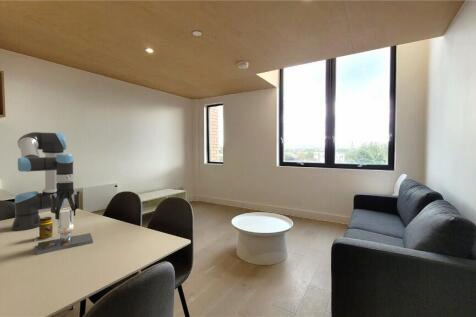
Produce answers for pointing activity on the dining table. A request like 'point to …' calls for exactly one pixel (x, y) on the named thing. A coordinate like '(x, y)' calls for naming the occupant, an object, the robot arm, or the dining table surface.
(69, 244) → the base plate
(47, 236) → the condiment
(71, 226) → the lever handle
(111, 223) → the dining table surface
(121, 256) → the dining table surface
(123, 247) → the dining table surface
